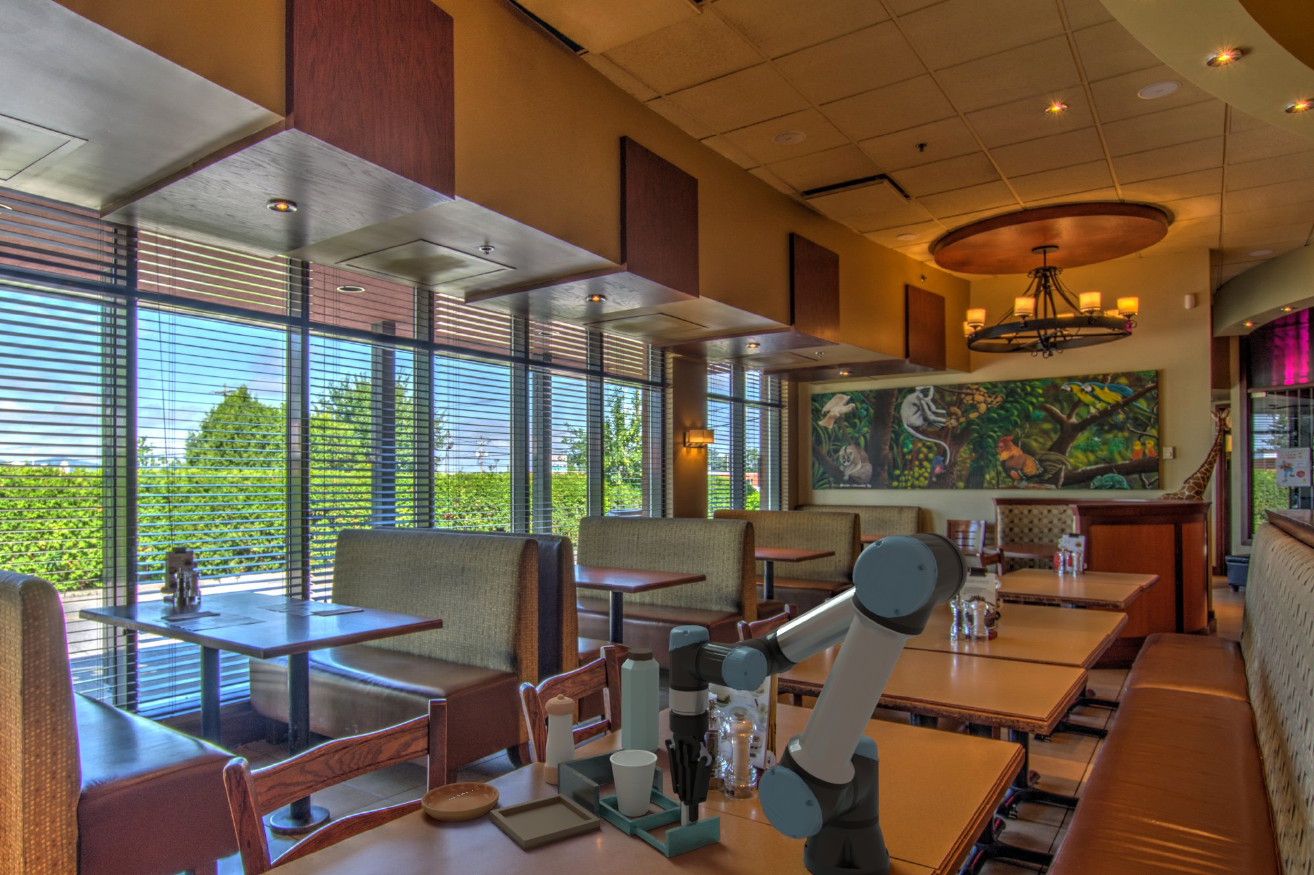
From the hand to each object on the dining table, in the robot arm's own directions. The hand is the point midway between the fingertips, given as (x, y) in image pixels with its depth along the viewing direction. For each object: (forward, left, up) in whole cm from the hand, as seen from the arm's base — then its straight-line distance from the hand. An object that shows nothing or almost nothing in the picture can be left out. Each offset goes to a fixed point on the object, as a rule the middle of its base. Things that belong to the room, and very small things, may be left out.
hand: (689, 836), depth 153 cm
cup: (+20, 0, -2) cm, 20 cm away
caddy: (+11, 0, -2) cm, 11 cm away
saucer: (+41, +29, -2) cm, 51 cm away
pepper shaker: (+44, +4, -2) cm, 45 cm away
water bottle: (+50, -22, -2) cm, 55 cm away
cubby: (+28, 0, -2) cm, 28 cm away
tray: (+24, +18, -2) cm, 30 cm away
